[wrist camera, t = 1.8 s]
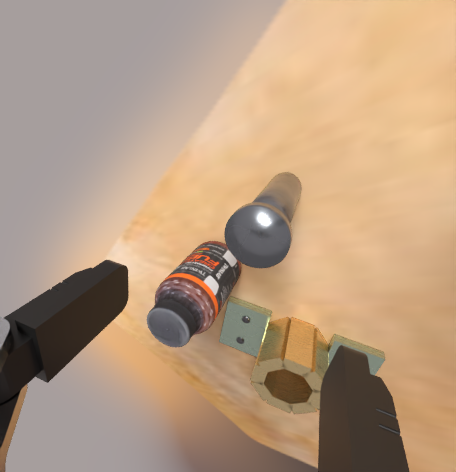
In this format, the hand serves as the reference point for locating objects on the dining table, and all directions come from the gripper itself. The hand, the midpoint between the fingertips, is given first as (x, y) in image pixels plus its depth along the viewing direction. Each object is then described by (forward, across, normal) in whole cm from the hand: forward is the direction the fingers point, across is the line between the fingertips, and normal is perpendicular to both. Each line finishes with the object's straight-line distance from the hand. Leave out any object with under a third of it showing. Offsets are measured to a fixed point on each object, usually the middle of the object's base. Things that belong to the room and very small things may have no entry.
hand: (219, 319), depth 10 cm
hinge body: (+18, -6, +18) cm, 26 cm away
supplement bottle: (+18, +6, +10) cm, 22 cm away
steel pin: (+18, 0, 0) cm, 18 cm away
